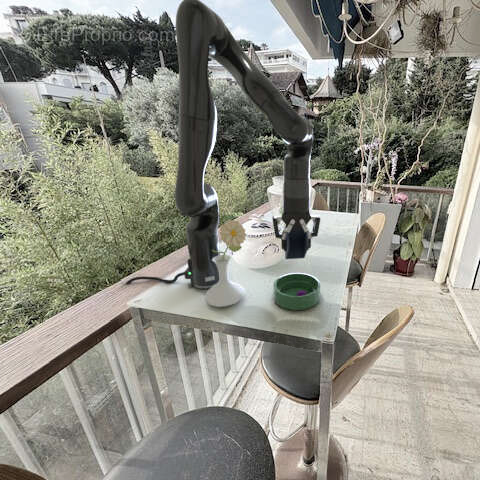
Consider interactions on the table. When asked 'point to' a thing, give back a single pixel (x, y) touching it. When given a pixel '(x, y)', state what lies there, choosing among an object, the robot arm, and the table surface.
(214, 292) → the flower in vase
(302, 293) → the ball
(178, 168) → the robot arm
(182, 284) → the table surface
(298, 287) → the bowl
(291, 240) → the dark blue block
